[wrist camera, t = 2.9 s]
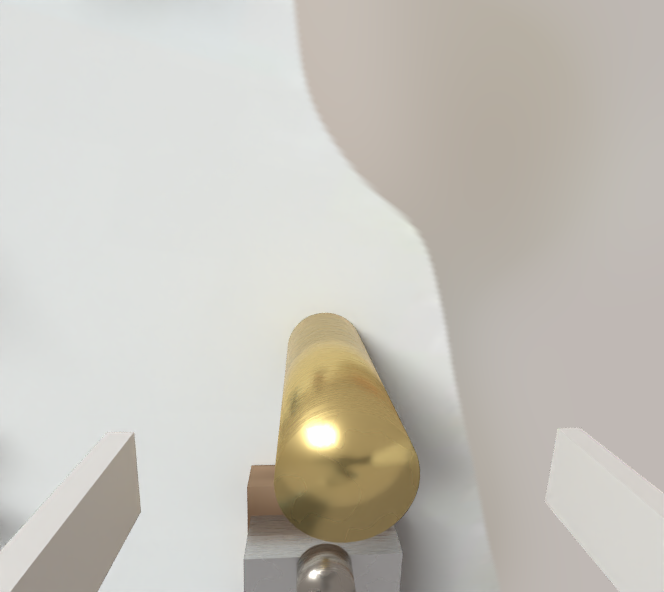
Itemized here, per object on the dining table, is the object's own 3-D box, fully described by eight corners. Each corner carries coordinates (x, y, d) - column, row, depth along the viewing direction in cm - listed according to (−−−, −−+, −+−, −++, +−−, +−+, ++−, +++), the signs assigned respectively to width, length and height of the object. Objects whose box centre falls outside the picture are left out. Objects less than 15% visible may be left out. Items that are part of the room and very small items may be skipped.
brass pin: (359, 382, 24) (414, 540, 12) (287, 382, 24) (273, 545, 12) (362, 313, 23) (425, 412, 11) (288, 312, 23) (273, 413, 11)
